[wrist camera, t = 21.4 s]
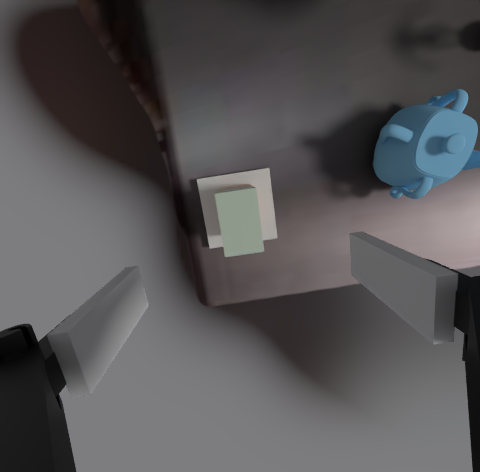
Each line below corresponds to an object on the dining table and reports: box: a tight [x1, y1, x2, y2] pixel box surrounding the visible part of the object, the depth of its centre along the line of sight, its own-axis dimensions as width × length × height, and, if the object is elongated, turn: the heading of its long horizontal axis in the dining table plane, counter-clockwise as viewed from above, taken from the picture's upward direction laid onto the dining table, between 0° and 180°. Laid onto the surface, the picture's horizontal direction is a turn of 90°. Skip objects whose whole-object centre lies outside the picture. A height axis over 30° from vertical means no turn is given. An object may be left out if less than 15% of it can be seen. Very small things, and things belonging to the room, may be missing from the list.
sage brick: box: [215, 186, 264, 257], centre depth 33 cm, size 8×5×6 cm, turn 8°
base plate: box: [197, 168, 277, 248], centre depth 42 cm, size 12×12×1 cm
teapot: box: [372, 89, 480, 199], centre depth 36 cm, size 13×14×11 cm
